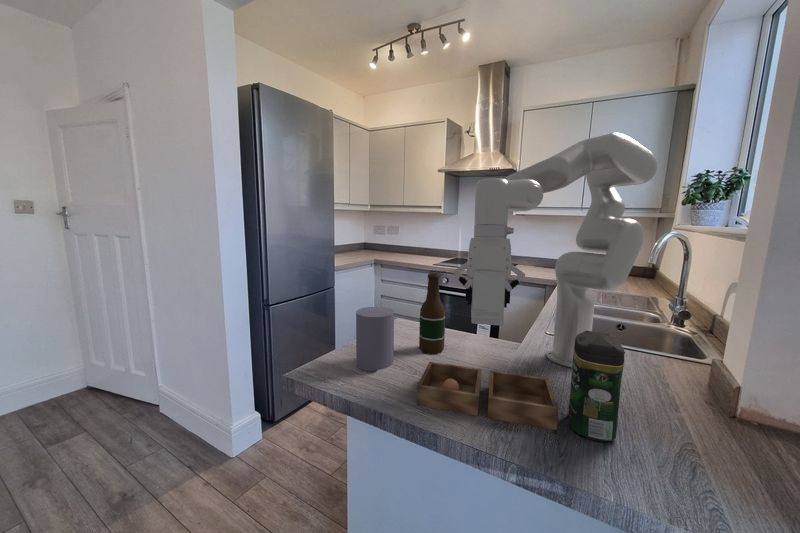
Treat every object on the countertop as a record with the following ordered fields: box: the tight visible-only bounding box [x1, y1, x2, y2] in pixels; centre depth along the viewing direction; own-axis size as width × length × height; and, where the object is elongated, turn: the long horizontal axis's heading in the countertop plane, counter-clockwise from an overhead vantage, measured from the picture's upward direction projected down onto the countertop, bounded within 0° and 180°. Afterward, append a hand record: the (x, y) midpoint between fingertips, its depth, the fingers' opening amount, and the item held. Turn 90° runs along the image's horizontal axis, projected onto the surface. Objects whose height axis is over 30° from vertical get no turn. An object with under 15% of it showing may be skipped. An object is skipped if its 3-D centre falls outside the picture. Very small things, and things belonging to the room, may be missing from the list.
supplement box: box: [470, 271, 506, 326], centre depth 78 cm, size 7×7×13 cm
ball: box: [443, 379, 459, 391], centre depth 72 cm, size 4×4×4 cm
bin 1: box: [416, 361, 483, 417], centre depth 72 cm, size 13×13×5 cm
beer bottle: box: [418, 272, 446, 355], centre depth 98 cm, size 8×8×24 cm
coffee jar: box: [568, 330, 626, 442], centre depth 61 cm, size 10×8×19 cm
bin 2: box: [487, 369, 559, 435], centre depth 68 cm, size 13×13×5 cm
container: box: [355, 306, 395, 373], centre depth 88 cm, size 10×10×15 cm
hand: (487, 304), depth 78 cm, fingers closed on supplement box, 7 cm apart
